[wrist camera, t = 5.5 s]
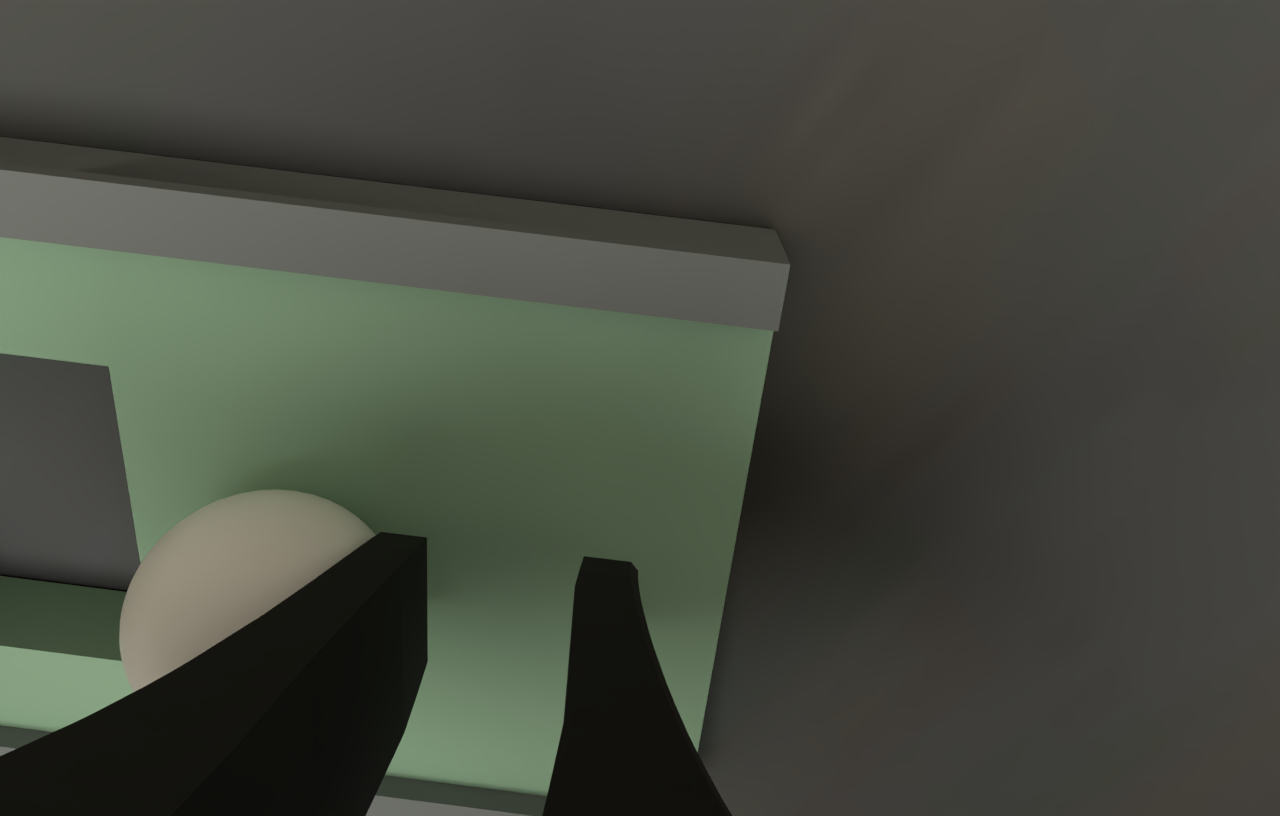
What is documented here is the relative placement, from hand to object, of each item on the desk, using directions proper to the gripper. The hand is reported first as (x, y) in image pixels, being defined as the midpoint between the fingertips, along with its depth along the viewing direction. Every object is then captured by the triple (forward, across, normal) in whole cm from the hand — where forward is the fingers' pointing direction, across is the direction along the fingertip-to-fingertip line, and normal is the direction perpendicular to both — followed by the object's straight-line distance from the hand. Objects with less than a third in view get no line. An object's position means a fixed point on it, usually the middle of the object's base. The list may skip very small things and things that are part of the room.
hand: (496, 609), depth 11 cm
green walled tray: (+3, +4, 0) cm, 5 cm away
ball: (-1, +3, 0) cm, 3 cm away
